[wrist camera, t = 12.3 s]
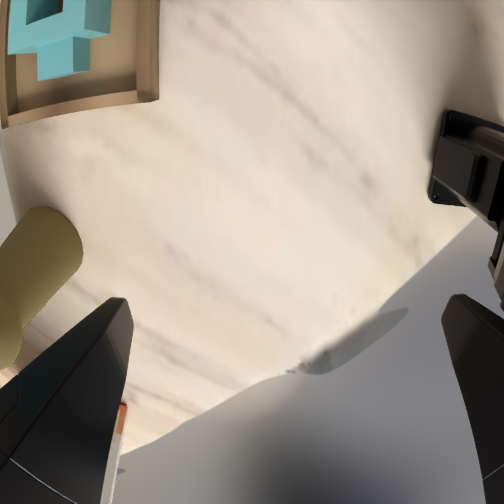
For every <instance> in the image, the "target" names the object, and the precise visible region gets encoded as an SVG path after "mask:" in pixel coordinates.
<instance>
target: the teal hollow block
mask: <svg viewBox="0 0 504 504" xmlns="http://www.w3.org/2000/svg"><path fill="white" fill-rule="evenodd" d="M111 2H112V0H63V12H61V13H58V14H57V6H58V0H11V4H10V14H9V28H8V55H9V54H26V53H37V70H38V81H42V80H49V79H56V78H60V77H64V76H68V75H73V74H77V73H82V72H86V71H90V39H91V38H95V37H100V36H105V35H110V22H111Z"/></svg>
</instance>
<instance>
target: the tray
mask: <svg viewBox="0 0 504 504" xmlns="http://www.w3.org/2000/svg"><path fill="white" fill-rule="evenodd" d="M10 4H11V0H1V3H0V116H1V125H2V129H4V128H8V127H11V126H15V125H19V124H23V123H27V122H31V121H35V120H39V119H43V118H48V117H53V116H57V115H62V114H68V113H73V112H78V111H84V110H90V109H97V108H103V107H110V106H118V105H126V104H135V103H145V102H152V101H155V100H158V99H159V8H160V0H112V2H111V22H110V35H105V36H100V37H95V38H91V39H90V71H86V72H82V73H77V74H73V75H68V76H64V77H60V78H56V79H49V80H42V81H38V70H37V53H26V54H9V55H8V28H9V14H10ZM61 12H63V0H58V6H57V14H58V13H61Z"/></svg>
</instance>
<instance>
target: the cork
mask: <svg viewBox="0 0 504 504" xmlns="http://www.w3.org/2000/svg"><path fill="white" fill-rule="evenodd" d="M82 258H83V248H82V241H81V239H80V237H79V235H78V232H77V230H76V229H75V227H74V226H73V225H72V223H71V222H70V221H69V220H68V219H67V218H66V217H65V216H63V215H62V214H61V213H60V212H58V211H56V210H53V209H51V208H49V207H36V208H34V209H31V210H29V211H28V212H27V213H26V214H25V215H24V217H23V218H22V219H21V220H20V222H19V223H18V224H17V225H16V227H15V228H14V229H13V231H12V232H11V233H10V235H9V236H8V237H7V239H6V240H5V241H4V242H3V244H2V245H1V247H0V370H2V369H4V368H6V367H9V366H10V365H11V364H12V363H13V362H14V361H15V360H16V358H17V356H18V354H19V352H20V349H21V346H22V342H23V332H22V330H23V329H24V328H25V326H26V325H27V324H28V323H29V322H30V321H31V319H32V318H33V317H34V316H35V315H36V314H37V313H38V312H39V310H40V309H41V308H42V307H43V306H44V305H45V304H46V303H47V302H48V300H49V299H50V298H51V297H52V296H53V295H54V294H55V293H56V292H57V291H58V290H59V289H60V288H61V287H62V285H63V284H64V283H65V282H66V281H67V280H68V279H69V278H70V277H71V276H72V275H73V274H74V273H75V272H76V271H77V270H78V268H79V267H80V265H81V263H82Z"/></svg>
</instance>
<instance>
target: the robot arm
mask: <svg viewBox="0 0 504 504" xmlns="http://www.w3.org/2000/svg"><path fill="white" fill-rule="evenodd" d="M450 114H451V119H450V120H449V115H450ZM503 133H504V127H503V126H500V125H497V124H495V123H492V122H489V121H486V120H483V119H480V118H477V117H474V116H471V115H468V114H464V113H461V112H458V111H454V110H451V109H446V110H445V111H444V112H443V116H442V123H441V130H440V136H439V139H438V144H437V150H436V156H435V161H434V166H433V171H432V179H431V184H430V188H429V193H428V198H429V200H430V201H431V202H433V203H435V204H444V205H454V206H463V207H468V208H469V209H471V210H472V211H473V212H474V213H475V214H477V215H478V216H479V217H480V218H481V219H483V220H484V221H485V222H486V223H488V224H489V225H490V226H491V227H492V228H493V229H494V230H496V231H497V232H498V235H497V239H496V244H495V247H494V251H493V254H492V256H491V257H490V259H489V263H488V268H489V270H490V272H491V275H492V277H493V279H494V286H495V288H496V290H497V293H498V295H499V297H500V299H501V300H502V301H501V303H500V307H501V309H502V310H503V312H504V134H503ZM436 193H437V195H436V197H435V198H434V195H435V194H436ZM441 322H442V326H443V330H444V334H445V337H446V341H447V345H448V349H449V352H450V357H451V360H452V364H453V368H454V371H455V374H456V377H457V380H458V383H459V386H460V390H461V393H462V396H463V399H464V403H465V406H466V410H467V413H468V417H469V421H470V424H471V429H472V432H473V437H474V441H475V445H476V449H477V454H478V459H479V464H480V469H481V474H482V479H483V487H484V494H485V501H486V504H504V319H503V318H501V317H500V316H498V315H496V314H495V313H493V312H492V311H490V310H489V309H487V308H486V307H484V306H483V305H481V304H480V303H478V302H476V301H475V300H473V299H471V298H470V297H468V296H467V295H465V294H454V295H452V296H451V297H450V299H449V301H448V303H447V305H446V308H445V310H444V312H443V314H442V318H441ZM133 329H134V324H133V319H132V315H131V312H130V308H129V305H128V302H127V300H126V299H125V298H119V297H111V298H109V299H108V300H107V301H105V302H104V303H103V304H102V305H100V306H99V307H98V308H97V309H95V310H94V311H93V312H92V313H90V314H89V315H88V316H86V317H85V318H84V319H83V320H82V321H80V322H79V323H78V324H77V325H75V326H74V327H73V328H72V329H70V330H69V331H68V332H67V333H65V334H64V335H63V336H62V337H61V338H59V339H58V340H57V341H56V342H55V343H53V344H52V345H51V346H50V347H49V348H47V349H46V350H45V351H44V352H43V353H41V354H40V355H39V356H38V357H37V358H36V359H34V360H33V361H32V362H31V363H30V364H29V365H27V366H26V367H25V368H24V369H23V370H22V371H20V372H19V374H18V375H16V376H15V377H13V378H12V379H11V380H10V381H9V382H8V383H7V384H5V385H4V386H3V387H2V388H1V389H0V504H100V502H101V496H102V490H103V484H104V478H105V472H106V467H107V462H108V457H109V451H110V447H111V442H112V437H113V432H114V428H115V423H116V419H117V414H118V410H119V406H120V402H121V398H122V394H123V390H124V385H125V381H126V375H127V369H128V362H129V355H130V348H131V342H132V336H133Z"/></svg>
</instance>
